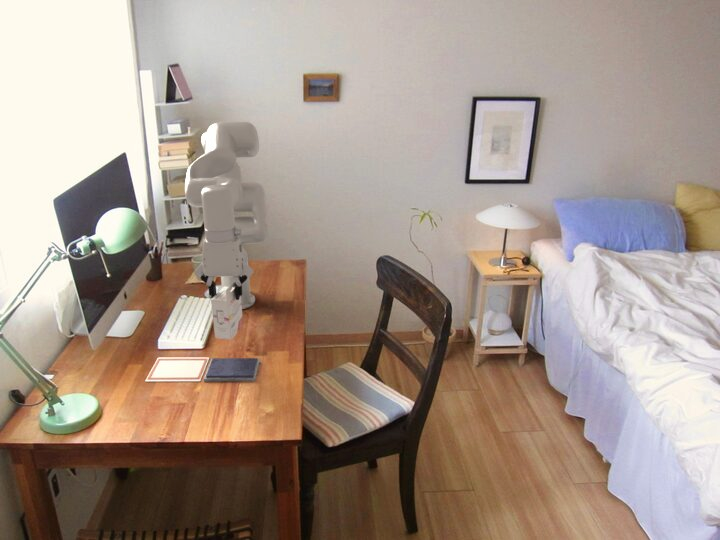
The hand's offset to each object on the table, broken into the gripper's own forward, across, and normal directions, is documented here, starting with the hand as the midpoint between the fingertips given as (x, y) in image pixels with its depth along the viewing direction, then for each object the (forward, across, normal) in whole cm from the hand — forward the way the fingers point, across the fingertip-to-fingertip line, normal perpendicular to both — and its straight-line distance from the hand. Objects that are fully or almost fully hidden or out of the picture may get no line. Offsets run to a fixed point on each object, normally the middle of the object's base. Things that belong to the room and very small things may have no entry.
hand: (226, 297), depth 151 cm
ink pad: (+23, 0, 0) cm, 23 cm away
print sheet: (+23, +16, -1) cm, 28 cm away
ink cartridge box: (+11, 0, 0) cm, 11 cm away
